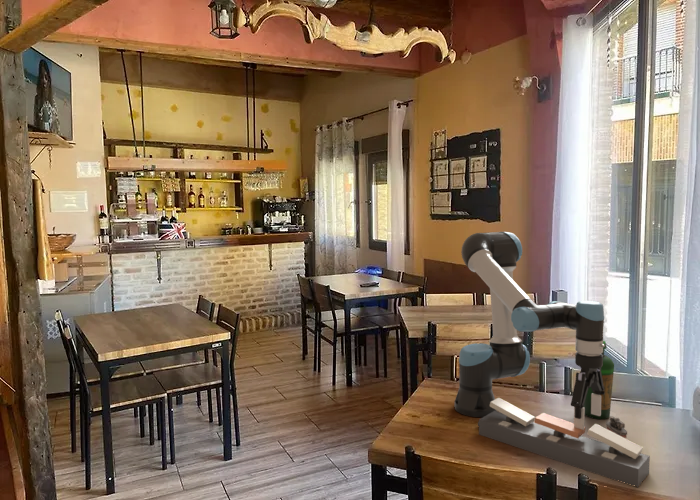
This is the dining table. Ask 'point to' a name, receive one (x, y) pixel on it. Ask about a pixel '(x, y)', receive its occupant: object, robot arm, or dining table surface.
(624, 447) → the rocker right
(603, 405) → the bottle
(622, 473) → the rocker switch base
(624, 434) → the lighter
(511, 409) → the block
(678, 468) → the dining table surface
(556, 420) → the rocker middle
